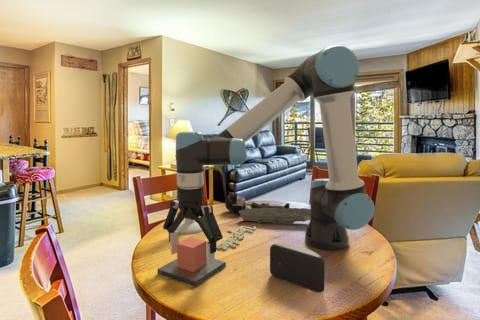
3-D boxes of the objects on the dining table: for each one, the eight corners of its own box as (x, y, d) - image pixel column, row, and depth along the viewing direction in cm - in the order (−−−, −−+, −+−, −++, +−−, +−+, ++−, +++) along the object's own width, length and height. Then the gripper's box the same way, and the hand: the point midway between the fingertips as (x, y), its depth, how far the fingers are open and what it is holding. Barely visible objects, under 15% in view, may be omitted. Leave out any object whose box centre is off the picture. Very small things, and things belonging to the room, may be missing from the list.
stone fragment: (236, 214, 134) (237, 204, 137) (238, 225, 140) (239, 216, 144) (313, 217, 129) (312, 207, 132) (311, 229, 136) (311, 219, 139)
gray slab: (225, 266, 96) (225, 245, 95) (195, 286, 84) (195, 263, 84) (189, 256, 103) (189, 237, 103) (157, 273, 92) (156, 252, 91)
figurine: (283, 208, 136) (218, 195, 145) (280, 229, 137) (216, 215, 147) (291, 197, 154) (233, 187, 164) (288, 216, 156) (231, 204, 165)
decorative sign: (235, 223, 134) (258, 226, 131) (235, 226, 134) (258, 228, 131) (206, 246, 110) (233, 250, 106) (206, 249, 110) (233, 253, 106)
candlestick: (176, 235, 123) (173, 157, 119) (172, 225, 135) (169, 154, 131) (208, 231, 127) (207, 156, 123) (202, 222, 139) (200, 153, 135)
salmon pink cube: (206, 263, 95) (206, 241, 94) (193, 271, 89) (192, 247, 89) (191, 259, 98) (190, 237, 97) (177, 266, 93) (176, 243, 92)
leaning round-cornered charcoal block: (329, 288, 83) (331, 253, 82) (322, 295, 80) (323, 259, 79) (277, 270, 94) (277, 239, 93) (268, 276, 90) (268, 243, 89)
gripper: (149, 184, 94) (152, 253, 97) (218, 194, 81) (219, 273, 84) (167, 180, 101) (169, 245, 103) (234, 188, 87) (235, 262, 90)
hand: (192, 258), depth 93 cm, fingers open, 13 cm apart
